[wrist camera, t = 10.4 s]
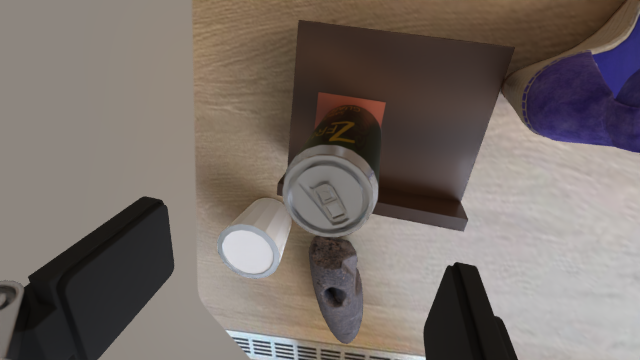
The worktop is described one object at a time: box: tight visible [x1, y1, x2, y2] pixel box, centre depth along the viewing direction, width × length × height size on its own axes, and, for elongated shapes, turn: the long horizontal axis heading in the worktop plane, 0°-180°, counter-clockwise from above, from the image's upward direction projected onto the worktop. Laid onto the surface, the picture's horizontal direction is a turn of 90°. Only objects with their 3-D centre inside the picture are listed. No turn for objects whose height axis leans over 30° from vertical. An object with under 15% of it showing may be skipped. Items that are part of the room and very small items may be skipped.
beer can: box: [282, 105, 382, 237], centre depth 23 cm, size 5×5×12 cm
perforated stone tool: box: [309, 236, 363, 344], centre depth 38 cm, size 15×5×7 cm, turn 9°
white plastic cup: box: [217, 198, 292, 279], centre depth 36 cm, size 7×7×7 cm
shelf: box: [277, 20, 515, 231], centre depth 28 cm, size 14×16×8 cm
